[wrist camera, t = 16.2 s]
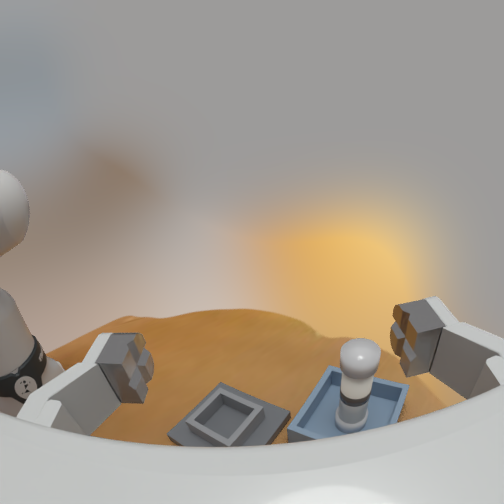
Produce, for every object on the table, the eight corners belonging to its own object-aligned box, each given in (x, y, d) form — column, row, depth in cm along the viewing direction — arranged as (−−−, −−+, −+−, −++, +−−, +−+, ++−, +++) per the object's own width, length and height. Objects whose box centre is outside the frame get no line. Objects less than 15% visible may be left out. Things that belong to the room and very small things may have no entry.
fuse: (329, 428, 34) (334, 359, 29) (342, 405, 37) (349, 334, 32) (359, 437, 32) (373, 370, 26) (370, 413, 35) (385, 343, 29)
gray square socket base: (170, 439, 36) (160, 423, 34) (222, 388, 44) (217, 370, 43) (239, 482, 29) (233, 470, 27) (290, 417, 38) (289, 400, 36)
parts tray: (288, 443, 34) (287, 428, 32) (328, 383, 42) (329, 365, 41) (375, 473, 27) (381, 459, 25) (403, 403, 36) (409, 385, 34)
